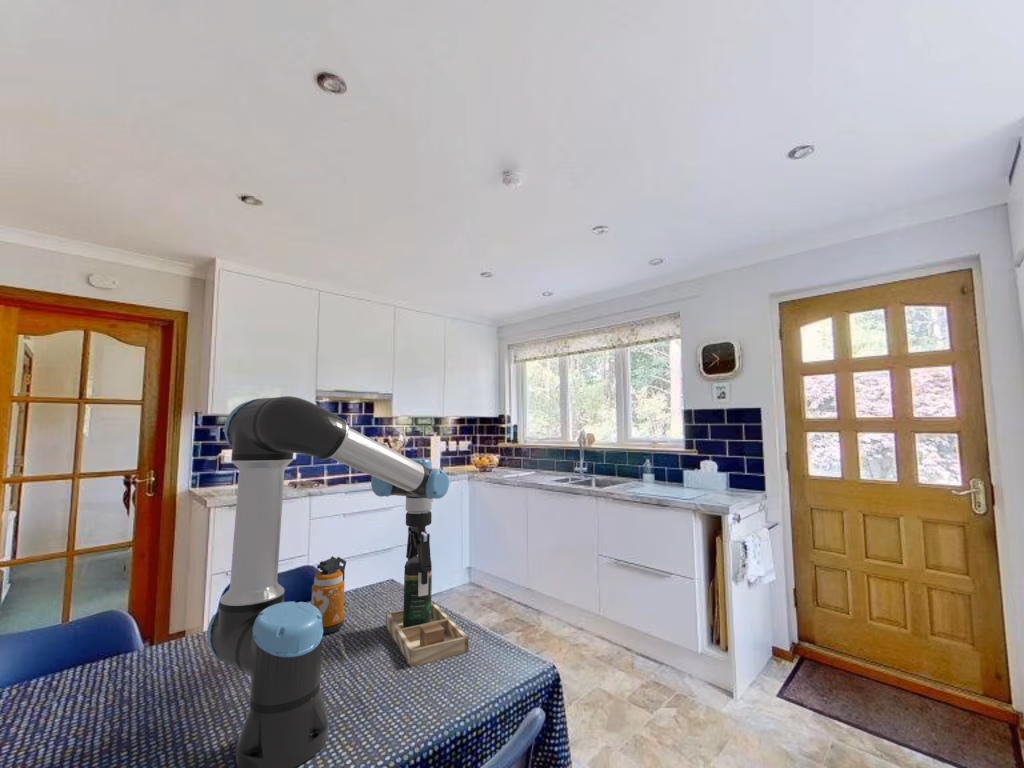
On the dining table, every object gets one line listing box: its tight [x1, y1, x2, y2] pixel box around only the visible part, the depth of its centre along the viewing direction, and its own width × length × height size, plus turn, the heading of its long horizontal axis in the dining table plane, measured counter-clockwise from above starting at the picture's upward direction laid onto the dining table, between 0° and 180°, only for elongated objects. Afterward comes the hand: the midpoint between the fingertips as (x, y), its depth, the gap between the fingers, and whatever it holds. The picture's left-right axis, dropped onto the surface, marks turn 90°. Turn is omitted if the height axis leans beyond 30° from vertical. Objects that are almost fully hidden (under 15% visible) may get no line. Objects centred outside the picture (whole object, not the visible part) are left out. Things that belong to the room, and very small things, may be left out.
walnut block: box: [420, 622, 444, 647], centre depth 116 cm, size 5×5×5 cm
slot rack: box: [385, 603, 469, 668], centre depth 122 cm, size 27×15×4 cm, turn 28°
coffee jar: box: [403, 555, 433, 628], centre depth 128 cm, size 10×8×19 cm
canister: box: [310, 556, 347, 635], centre depth 132 cm, size 9×11×20 cm
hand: (417, 589), depth 129 cm, fingers closed on coffee jar, 10 cm apart
